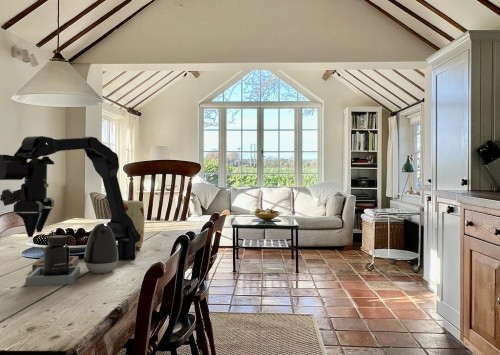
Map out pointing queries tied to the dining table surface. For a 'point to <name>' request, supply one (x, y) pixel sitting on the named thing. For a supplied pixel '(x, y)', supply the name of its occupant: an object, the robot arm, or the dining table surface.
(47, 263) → the supplement bottle
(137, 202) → the food model
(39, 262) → the walnut collar
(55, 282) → the slate tray
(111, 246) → the grey egg shaped device
